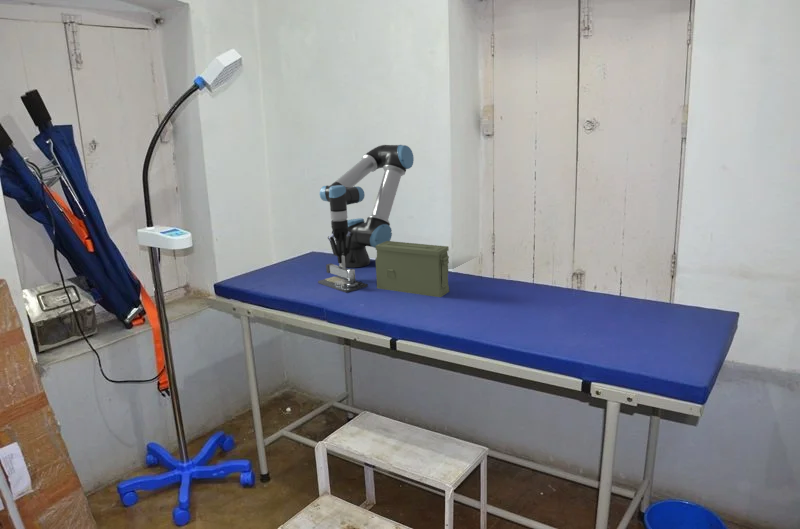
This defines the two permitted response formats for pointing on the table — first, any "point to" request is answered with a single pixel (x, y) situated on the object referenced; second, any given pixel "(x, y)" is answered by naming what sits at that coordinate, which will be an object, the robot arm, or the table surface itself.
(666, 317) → the table surface
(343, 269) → the grey long bar
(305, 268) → the table surface
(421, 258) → the ammunition box
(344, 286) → the plate
